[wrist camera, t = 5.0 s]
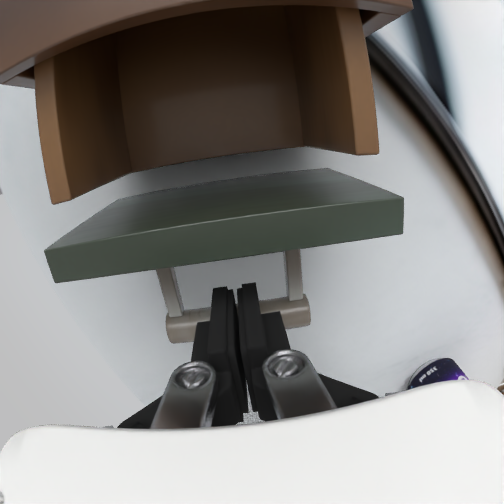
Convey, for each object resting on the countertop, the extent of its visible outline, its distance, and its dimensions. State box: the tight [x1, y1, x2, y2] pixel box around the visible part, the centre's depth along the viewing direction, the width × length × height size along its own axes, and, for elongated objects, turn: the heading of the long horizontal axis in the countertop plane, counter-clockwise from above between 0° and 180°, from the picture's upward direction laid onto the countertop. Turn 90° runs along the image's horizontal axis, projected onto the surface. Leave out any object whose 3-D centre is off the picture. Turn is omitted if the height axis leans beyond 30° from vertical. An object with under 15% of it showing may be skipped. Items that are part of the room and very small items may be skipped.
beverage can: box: [407, 358, 469, 390], centre depth 18 cm, size 6×6×12 cm
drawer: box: [34, 5, 404, 344], centre depth 11 cm, size 19×11×8 cm, turn 7°
